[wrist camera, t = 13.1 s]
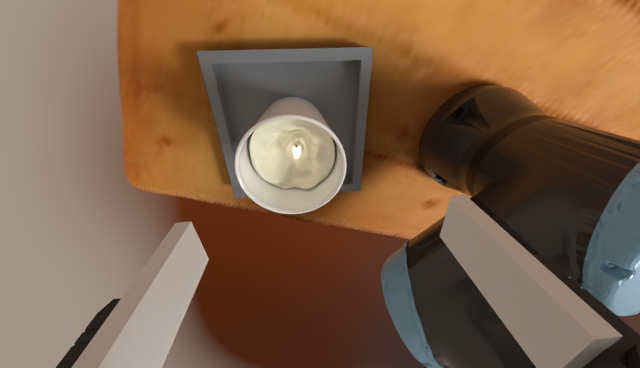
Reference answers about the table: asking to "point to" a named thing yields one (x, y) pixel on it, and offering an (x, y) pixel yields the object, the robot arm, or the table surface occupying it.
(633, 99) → the table surface
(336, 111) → the tray
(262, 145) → the candle holder
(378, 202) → the table surface
